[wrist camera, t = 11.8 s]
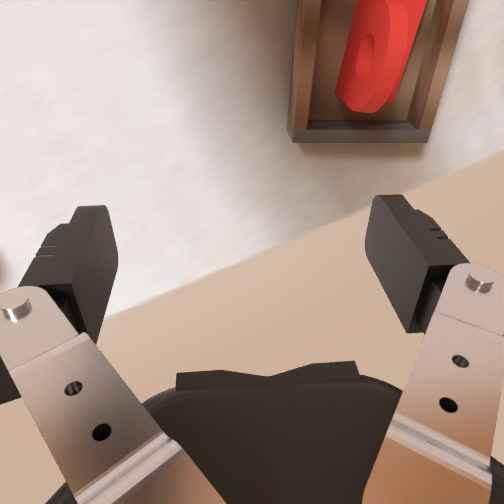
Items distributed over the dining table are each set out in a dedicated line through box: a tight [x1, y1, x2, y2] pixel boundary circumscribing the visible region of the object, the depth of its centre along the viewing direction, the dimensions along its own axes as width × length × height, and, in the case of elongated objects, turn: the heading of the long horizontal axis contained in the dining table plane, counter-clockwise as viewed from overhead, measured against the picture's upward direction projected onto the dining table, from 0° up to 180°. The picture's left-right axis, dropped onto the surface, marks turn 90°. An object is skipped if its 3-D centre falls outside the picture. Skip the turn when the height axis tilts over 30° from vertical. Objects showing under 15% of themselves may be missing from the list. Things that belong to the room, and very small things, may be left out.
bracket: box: [335, 0, 427, 113], centre depth 27 cm, size 12×4×8 cm, turn 172°
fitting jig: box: [287, 0, 469, 143], centre depth 29 cm, size 17×11×3 cm, turn 178°
